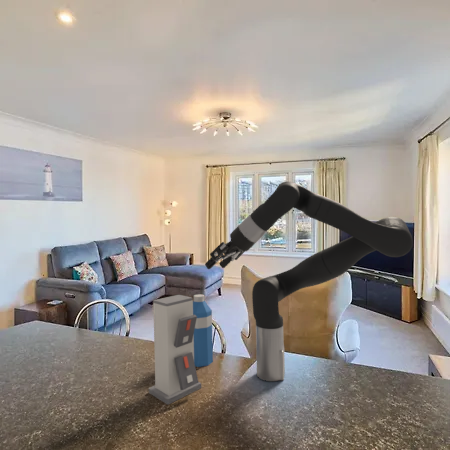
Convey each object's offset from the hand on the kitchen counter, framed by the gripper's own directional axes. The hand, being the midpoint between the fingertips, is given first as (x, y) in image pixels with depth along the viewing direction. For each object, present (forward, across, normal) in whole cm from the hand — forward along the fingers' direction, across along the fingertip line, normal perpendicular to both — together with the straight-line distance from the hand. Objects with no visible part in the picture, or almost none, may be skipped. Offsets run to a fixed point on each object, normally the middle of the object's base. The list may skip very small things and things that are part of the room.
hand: (214, 266), depth 107 cm
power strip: (+33, -6, -22) cm, 41 cm away
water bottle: (+36, +16, -18) cm, 43 cm away
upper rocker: (+20, -8, -14) cm, 25 cm away
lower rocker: (+26, -8, -25) cm, 36 cm away
